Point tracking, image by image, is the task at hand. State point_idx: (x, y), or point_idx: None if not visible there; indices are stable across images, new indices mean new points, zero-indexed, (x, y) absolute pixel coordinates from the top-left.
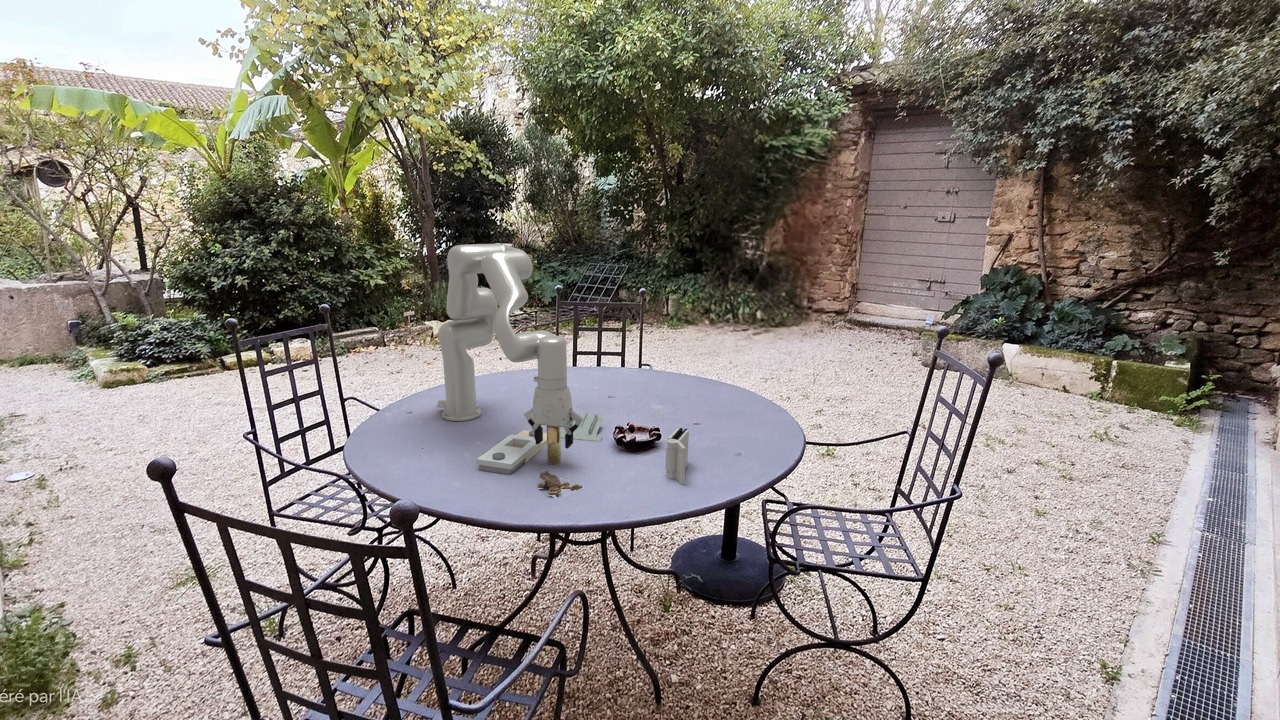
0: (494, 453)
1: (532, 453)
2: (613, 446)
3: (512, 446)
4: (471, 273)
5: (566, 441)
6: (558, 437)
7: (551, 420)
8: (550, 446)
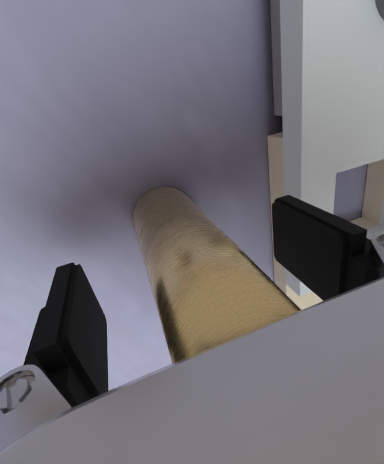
0: None
1: None
2: None
3: (371, 211)
4: None
5: (55, 296)
6: (158, 298)
7: (298, 449)
8: (185, 220)
